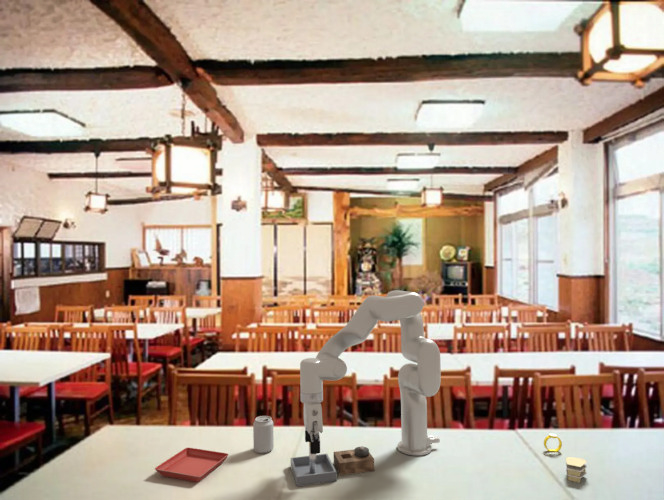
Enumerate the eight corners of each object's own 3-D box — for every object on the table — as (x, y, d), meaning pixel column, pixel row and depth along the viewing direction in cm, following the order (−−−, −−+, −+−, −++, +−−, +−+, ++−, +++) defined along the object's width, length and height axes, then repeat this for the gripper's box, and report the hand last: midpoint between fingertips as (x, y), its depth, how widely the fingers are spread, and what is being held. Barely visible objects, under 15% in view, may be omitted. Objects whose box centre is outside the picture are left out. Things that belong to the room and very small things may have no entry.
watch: (546, 452, 166) (545, 436, 166) (542, 449, 169) (542, 433, 169) (562, 452, 166) (562, 436, 166) (559, 449, 169) (559, 433, 169)
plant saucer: (229, 462, 163) (229, 452, 163) (200, 486, 146) (199, 476, 146) (186, 455, 169) (186, 446, 169) (153, 478, 152) (153, 468, 152)
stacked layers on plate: (591, 489, 141) (590, 471, 141) (558, 481, 146) (558, 464, 146) (592, 475, 149) (592, 458, 150) (562, 469, 154) (562, 452, 154)
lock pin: (315, 470, 154) (315, 440, 155) (317, 473, 152) (316, 443, 152) (308, 471, 154) (308, 441, 154) (310, 474, 151) (309, 444, 152)
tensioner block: (366, 459, 163) (366, 441, 163) (374, 470, 154) (374, 452, 154) (333, 463, 160) (333, 445, 160) (340, 475, 152) (339, 456, 152)
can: (269, 455, 168) (269, 422, 168) (250, 453, 169) (250, 421, 169) (276, 446, 175) (275, 415, 175) (257, 445, 176) (257, 414, 177)
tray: (327, 462, 161) (327, 453, 161) (336, 481, 148) (336, 471, 148) (290, 466, 158) (290, 457, 158) (296, 486, 145) (296, 476, 145)
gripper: (328, 403, 146) (329, 457, 145) (317, 387, 162) (318, 436, 162) (305, 405, 144) (305, 459, 144) (296, 389, 161) (297, 438, 161)
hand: (312, 447), depth 153 cm, fingers open, 9 cm apart
